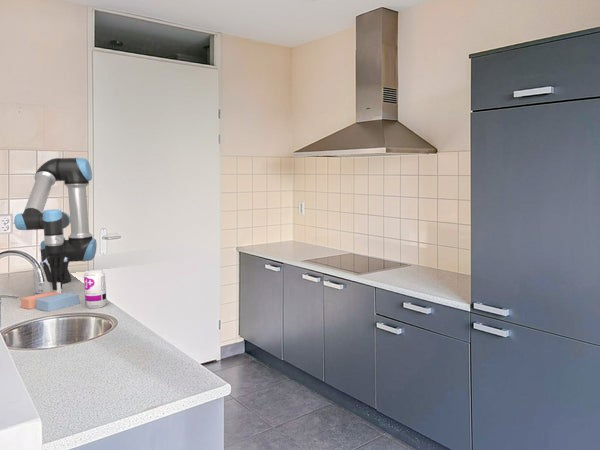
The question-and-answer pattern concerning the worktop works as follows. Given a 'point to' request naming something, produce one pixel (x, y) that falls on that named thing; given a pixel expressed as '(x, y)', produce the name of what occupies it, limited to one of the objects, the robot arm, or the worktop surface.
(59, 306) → the blue rectangular block
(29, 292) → the worktop surface
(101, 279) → the supplement can
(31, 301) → the orange rectangular block
